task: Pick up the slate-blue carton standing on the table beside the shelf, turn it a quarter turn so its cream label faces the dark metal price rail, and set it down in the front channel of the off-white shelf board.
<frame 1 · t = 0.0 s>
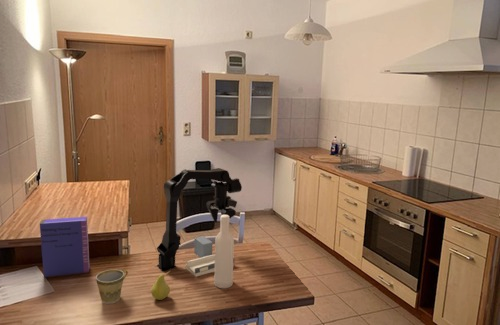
hand: (220, 225, 183), 15 cm above the table, fingers open, 9 cm apart
fruit: (161, 298, 145), on the table
ceramic cup: (114, 298, 144), on the table
bottle: (223, 284, 157), on the table
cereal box: (67, 272, 162), on the table
shelf: (210, 266, 172), on the table
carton: (203, 255, 183), on the table
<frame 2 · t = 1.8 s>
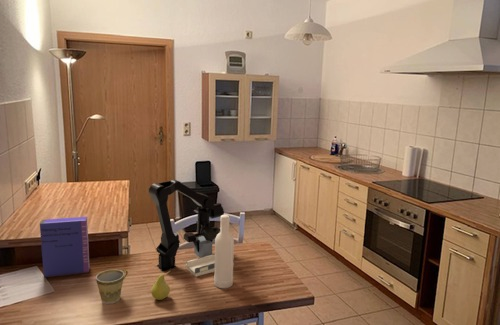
hand: (203, 250, 183), 2 cm above the table, fingers closed on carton, 5 cm apart
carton: (203, 255, 183), on the table, touching gripper
everything else where it was.
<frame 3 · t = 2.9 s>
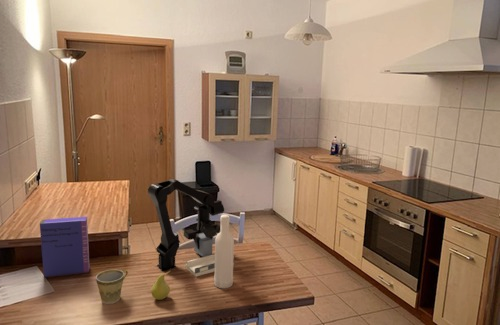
hand: (203, 247, 182), 4 cm above the table, fingers closed on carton, 5 cm apart
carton: (203, 252, 183), point 1 cm above the table, touching gripper
everything else where it was.
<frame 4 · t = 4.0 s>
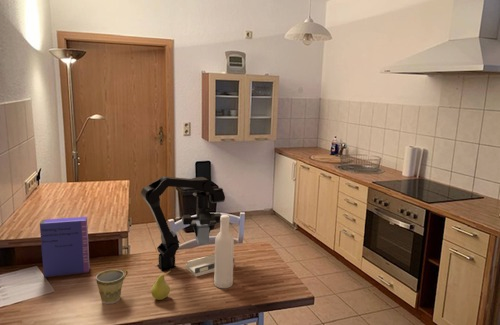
hand: (202, 235, 177), 12 cm above the table, fingers closed on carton, 5 cm apart
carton: (201, 240, 178), point 9 cm above the table, touching gripper
everything else where it was.
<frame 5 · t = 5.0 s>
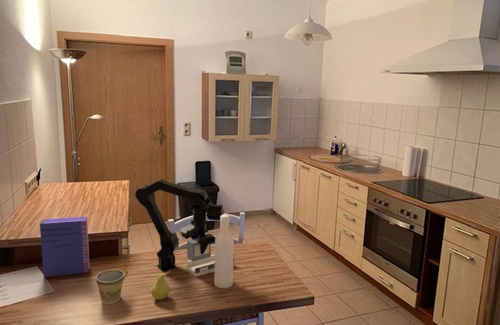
hand: (199, 251, 166), 9 cm above the table, fingers closed on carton, 5 cm apart
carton: (198, 256, 167), point 6 cm above the table, touching gripper
everything else where it was.
when the fingers open (5 cm above the table, at t = 6.0 s): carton stays where it is, resting on shelf.
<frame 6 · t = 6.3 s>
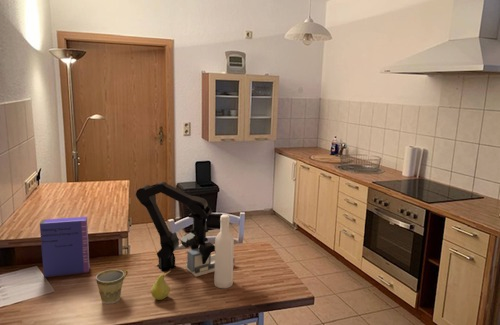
hand: (199, 260, 167), 5 cm above the table, fingers open, 8 cm apart
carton: (198, 267, 168), point 1 cm above the table, touching shelf
everything else where it was.
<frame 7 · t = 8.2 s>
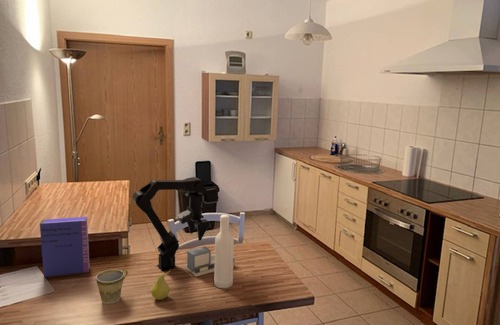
hand: (195, 236, 175), 12 cm above the table, fingers open, 9 cm apart
nothing on the table moved.
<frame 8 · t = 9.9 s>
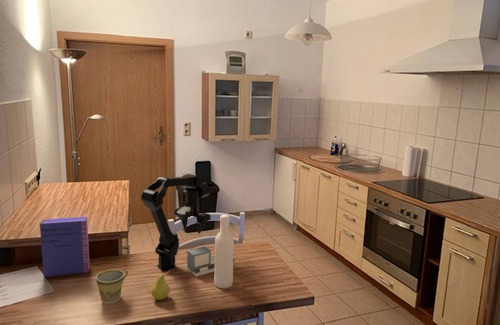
hand: (192, 231, 182), 12 cm above the table, fingers open, 9 cm apart
nothing on the table moved.
at the end: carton 0.2 cm from the target spot on the shelf, point 1.5 cm above the shelf's base; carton tilted 0°; the gripper is holding nothing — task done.
